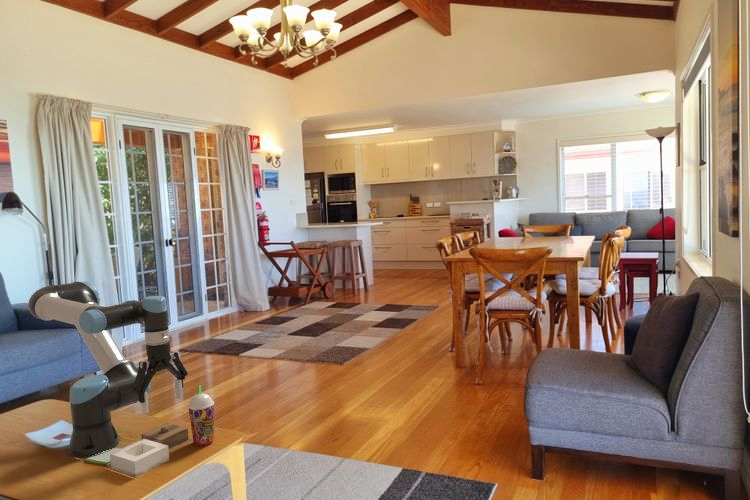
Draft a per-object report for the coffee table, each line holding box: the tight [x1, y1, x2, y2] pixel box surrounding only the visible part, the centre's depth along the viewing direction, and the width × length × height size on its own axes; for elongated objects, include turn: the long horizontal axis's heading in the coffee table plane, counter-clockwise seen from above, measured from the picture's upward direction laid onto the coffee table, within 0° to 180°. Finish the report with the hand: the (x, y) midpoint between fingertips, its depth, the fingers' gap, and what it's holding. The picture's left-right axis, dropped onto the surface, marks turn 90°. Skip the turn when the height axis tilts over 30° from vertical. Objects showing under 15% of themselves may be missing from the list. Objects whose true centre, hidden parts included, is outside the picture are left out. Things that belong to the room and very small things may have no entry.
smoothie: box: [187, 385, 215, 447], centre depth 187 cm, size 8×8×20 cm
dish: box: [109, 438, 170, 479], centre depth 174 cm, size 12×12×5 cm
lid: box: [140, 422, 190, 449], centre depth 189 cm, size 10×10×5 cm
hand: (162, 404), depth 188 cm, fingers open, 13 cm apart
